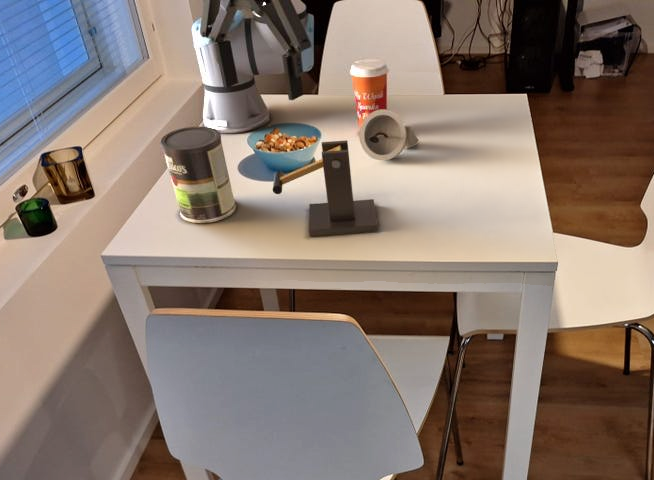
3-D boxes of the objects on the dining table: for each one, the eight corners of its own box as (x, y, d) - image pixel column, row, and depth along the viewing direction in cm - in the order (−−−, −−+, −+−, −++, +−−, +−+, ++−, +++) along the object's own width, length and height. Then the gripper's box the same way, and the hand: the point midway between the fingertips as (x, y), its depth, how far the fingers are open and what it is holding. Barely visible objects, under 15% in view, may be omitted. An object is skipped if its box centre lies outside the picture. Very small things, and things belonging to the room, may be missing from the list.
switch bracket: (309, 236, 117) (298, 161, 108) (310, 210, 125) (299, 137, 116) (377, 231, 118) (372, 156, 109) (374, 205, 125) (368, 133, 117)
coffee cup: (350, 138, 150) (344, 69, 140) (361, 125, 156) (356, 57, 146) (386, 141, 148) (382, 71, 139) (396, 127, 154) (393, 59, 145)
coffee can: (199, 229, 120) (178, 154, 111) (170, 211, 126) (149, 138, 117) (247, 209, 126) (231, 136, 116) (218, 192, 131) (201, 121, 122)
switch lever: (276, 197, 114) (269, 185, 112) (278, 182, 118) (271, 170, 117) (346, 167, 112) (340, 154, 110) (345, 153, 116) (339, 140, 115)
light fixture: (418, 166, 148) (422, 118, 145) (397, 160, 132) (402, 106, 130) (371, 162, 150) (375, 115, 148) (345, 155, 134) (349, 102, 132)
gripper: (153, -65, 96) (189, 86, 110) (288, -55, 86) (310, 110, 100) (190, -73, 101) (221, 73, 115) (323, -64, 91) (339, 95, 105)
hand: (262, 91), depth 107 cm, fingers open, 13 cm apart
